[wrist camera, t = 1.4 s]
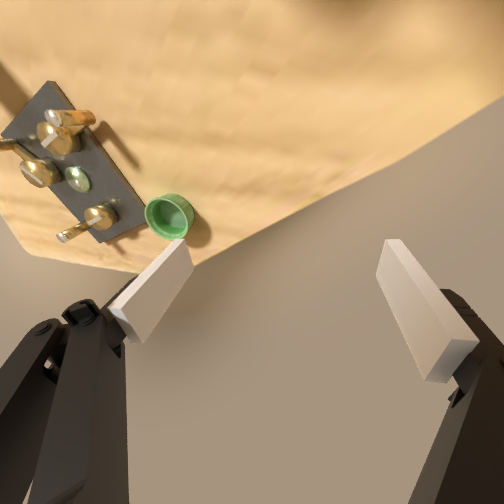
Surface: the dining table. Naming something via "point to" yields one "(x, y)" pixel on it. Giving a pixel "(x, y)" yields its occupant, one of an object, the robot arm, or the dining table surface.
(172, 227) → the ramekin
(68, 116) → the knob
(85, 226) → the knob
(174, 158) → the dining table surface
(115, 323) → the robot arm
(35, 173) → the knob
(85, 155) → the control panel
